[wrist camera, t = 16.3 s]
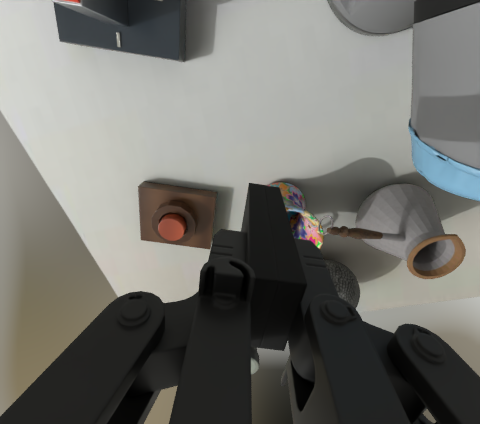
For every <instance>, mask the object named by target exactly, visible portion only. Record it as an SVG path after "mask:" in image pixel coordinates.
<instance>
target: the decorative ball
mask: <svg viewBox="0 0 480 424" xmlns="http://www.w3.org/2000/svg"><path fill="white" fill-rule="evenodd" d="M324 261H325V264H326V268H328V271H329V273H330V276H331V278H332V280H333V283H334V285H335V288H336V290H337V292H338V295H339V297H340V298H342V299H344V300H346V301H347V302H348V303H349V304H351V305H352V306H353V307H354V308H355V309H356V307H357V305H358V302H359V298H360V289H359V284H358V281H357V279H356V277H355V276H354V274H353V273H352V272H351V271H350V270H349V269H348V268H347V267H346V266H344V265H343V264H341V263H339V262H336V261H332V260H324Z"/></svg>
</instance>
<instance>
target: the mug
mask: <svg viewBox="0 0 480 424" xmlns="http://www.w3.org/2000/svg"><path fill="white" fill-rule="evenodd" d="M267 186H273V187H280V190H281V194H282V197H283V201H284V204H285V208H286V211H287V215H288V218H289V222H290V225H291V229H292V232H293V236H294V238H297V239H304V240H311V241H312V242H313V243H314V244H315V245H316V246H317V247H318V248H319V249H321V247H322V244H323V239H324V235H322V234H324V233H323V228H322V226H321V224H320V231H321V233H322V234H320V233H319V231H318V225H319V221H318V219H317V218H316V217H315V216H314V215H312V214H311V213H309V212H308V211H306V210H305V207H306V202H305V198H304V195H303V194H302V192H301V191H300V190H299V189H298V188H297V187H295V186H294V185H292V184H289V183H284V182H277V183H272V184H269V185H267Z"/></svg>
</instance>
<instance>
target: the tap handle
mask: <svg viewBox="0 0 480 424" xmlns="http://www.w3.org/2000/svg"><path fill="white" fill-rule="evenodd" d="M52 2H54V3H57V4H60V5H62V6H65V7H67V8H70V9H72V10H75V11H77V12H80V13H82V14H85V15H87V16H90V17H92V18H95V19H97V20H100V21H102V22H105V23H108V24H114V25H120V26H126V27H128V8H127V0H52Z"/></svg>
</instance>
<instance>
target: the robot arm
mask: <svg viewBox="0 0 480 424" xmlns="http://www.w3.org/2000/svg"><path fill="white" fill-rule="evenodd" d="M328 3H329V5H330V7H331V9H332V11H333V12H334V14H335V15H336V17H337V18H338V19H339V20H340V21H341V22H342V23H343V24H344V25H345V26H346V27H348V28H349V29H351V30H353V31H355V32H357V33H360V34H363V35H367V36H384V35H389V34H393V33H396V32H399V31H402V30H405V29H407V28H410V27H412V26H413V56H412V101H411V118H410V120H409V127H408V128H409V132H410V135H411V141H412V160H413V163H414V166H415V168H416V170H417V171H418V172H419V173H420V174H421V175H422V176H424V177H425V178H426V179H427V181H429V182H430V183H431V184H433V185H435V186H437V187H439V188H441V189H443V190H445V191H447V192H450V193H452V194H455V195H458V196H461V197H465V198H468V199H472V200H476V201H480V0H328ZM430 18H431V19H430ZM427 19H428V20H427ZM424 20H425V21H424ZM287 341H288V343H289V349H290V356H289V359H288V361H287V364H286V367H285V369H284V372H283V375H282V377H281V385H282V386H285V383H286V381H287V378H288V385H289V393H290V401H291V408H292V416H293V424H480V377H479V376H478V375H477V374H476V373H475V372H474V371H473V370H472V368H470V367H469V365H468V364H467V363H466V362H465V361H464V360H463V359H462V358H461V357H460V356H459V355H458V354H457V353H456V352H455V351H454V350H453V349H452V348H451V347H450V346H449V345H448V344H447V343H446V342H444V341H443V340H442V339H441V338H440V337H439V336H437V335H436V334H434V333H432V332H431V331H429V330H427V329H425V328H423V327H420V326H417V325H413V324H404V325H401V326H399V327H398V329H397V330H396V332H395V333H391V332H389V331H386V330H383V329H381V328H378V327H375V326H373V325H370V324H368V323H366V322H364V321H362V319H361V317H360V315H359V314H358V312H357V311H356V309H355V308H354V307H353V306H352V305H351V304H349V303H348V302H347V301H346V300H344V299H342V298H340V297H339V295H338V292H337V290H336V288H335V285H334V283H333V280H332V278H331V276H330V273H329V271H328V268H326V264H325V261H324V260H323V256H322V254H321V252H320V249H319V248H318V247H317V246H316V245H315V244H314V243H313V242H312V241H311V240H304V239H297V238H294V236H293V232H292V229H291V225H290V222H289V218H288V215H287V211H286V208H285V204H284V201H283V197H282V194H281V190H280V187H273V186H266V185H259V184H253V183H249V187H248V193H247V199H246V205H245V211H244V217H243V223H242V229H241V232H239V231H232V230H225V229H221V230H219V231H218V232H217V233H216V234H215V235H214V238H213V242H212V247H211V251H210V256H209V260H208V262H207V263H205V264H204V266H203V267H202V269H201V272H200V283H199V291H198V292H197V293H196V294H195V295H193V296H192V297H190V298H187V299H185V300H181V301H177V302H170V303H163V302H162V301H161V299H160V298H159V297H158V296H156V295H154V294H152V293H148V292H142V291H140V292H132V293H128V294H125V295H123V296H120V297H118V298H117V299H116V300H114V301H113V302H112V303H111V304H109V305H108V306H107V307H106V308H105V309H104V310H103V311H102V312H101V313H100V314H99V315H98V316H97V317H96V318H95V319H94V320H93V322H92V323H91V324H90V325H89V326H88V327H87V328H86V329H85V330H84V331H83V332H82V333H81V334H80V335H79V336H78V337H77V338H76V339H75V340H74V341H73V342H72V343H71V344H70V345H69V346H68V347H67V348H66V349H65V350H64V352H63V353H62V354H61V355H60V356H59V357H58V358H57V359H56V360H55V361H54V362H53V363H52V364H51V365H50V366H49V367H48V368H47V369H46V370H45V371H44V372H43V373H42V374H41V375H40V376H39V377H38V378H37V379H36V380H35V382H34V383H32V384H31V385H30V387H29V388H28V389H27V390H26V391H25V392H24V393H23V394H22V395H21V396H20V397H19V398H18V399H17V400H16V401H15V402H14V403H13V404H12V405H11V406H10V407H9V408H8V409H7V410H6V411H5V412H4V413H3V414H2V416H0V424H144V422H145V420H146V418H147V416H148V414H149V412H150V410H151V408H152V406H153V404H154V403H155V400H156V399H157V397H158V395H159V393H160V391H161V389H165V388H169V387H173V386H177V385H178V387H177V391H176V396H175V400H174V404H173V409H172V413H171V418H170V422H169V424H252V414H251V347H258V348H265V349H274V350H282V351H284V349H285V346H286V343H287ZM426 409H428V410H429V412H430V413H431V414H432V416H433V417H434V419H435V420H436V421H437V422H436V423H432V422H431V421H429V420H428V419H427V418H426V417H425V416H424V415H423V412H424V411H425V410H426Z"/></svg>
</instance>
